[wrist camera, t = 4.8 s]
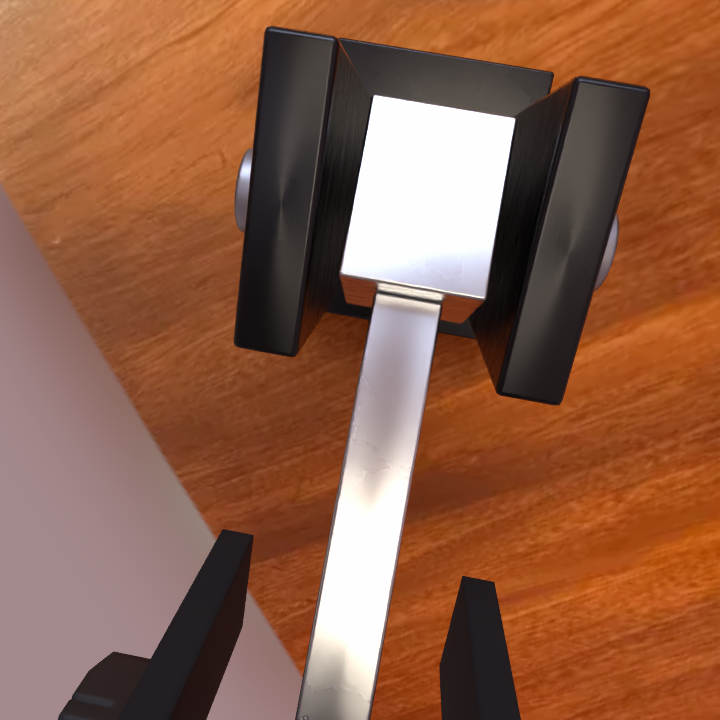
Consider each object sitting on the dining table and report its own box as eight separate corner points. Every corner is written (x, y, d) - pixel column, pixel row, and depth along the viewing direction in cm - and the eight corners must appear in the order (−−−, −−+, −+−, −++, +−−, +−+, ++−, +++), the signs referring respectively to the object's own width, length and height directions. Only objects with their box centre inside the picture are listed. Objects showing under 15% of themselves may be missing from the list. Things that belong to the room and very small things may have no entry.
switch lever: (451, 866, 10) (474, 1009, 8) (169, 806, 10) (108, 926, 8) (562, 191, 11) (613, 131, 9) (300, 147, 11) (279, 76, 9)
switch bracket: (486, 334, 22) (586, 553, 9) (306, 301, 23) (158, 470, 10) (547, 78, 20) (808, -122, 7) (342, 44, 20) (201, -211, 7)
